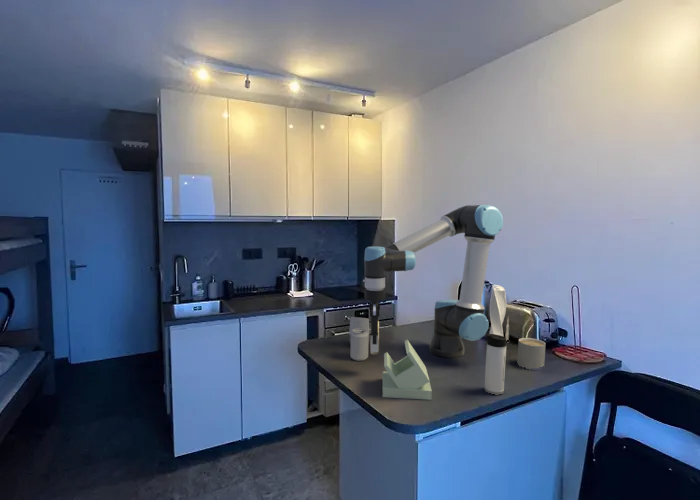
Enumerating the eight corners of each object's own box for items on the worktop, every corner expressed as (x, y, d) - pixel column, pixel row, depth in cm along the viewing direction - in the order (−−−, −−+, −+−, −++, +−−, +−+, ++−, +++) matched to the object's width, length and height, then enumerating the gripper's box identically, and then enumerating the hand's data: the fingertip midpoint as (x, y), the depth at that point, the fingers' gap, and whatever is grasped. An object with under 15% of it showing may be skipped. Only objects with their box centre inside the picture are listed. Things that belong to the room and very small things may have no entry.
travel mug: (480, 387, 140) (483, 332, 138) (498, 387, 140) (501, 332, 138) (488, 395, 133) (491, 338, 131) (506, 395, 134) (510, 337, 132)
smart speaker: (371, 343, 185) (371, 313, 183) (367, 349, 176) (367, 318, 174) (351, 341, 187) (352, 312, 186) (346, 347, 178) (347, 317, 177)
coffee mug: (535, 372, 154) (536, 347, 153) (512, 364, 162) (513, 340, 161) (553, 365, 161) (555, 341, 160) (530, 358, 170) (532, 335, 169)
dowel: (379, 351, 150) (379, 320, 149) (378, 354, 147) (378, 322, 145) (370, 351, 150) (370, 320, 149) (370, 354, 147) (370, 322, 146)
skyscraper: (497, 345, 186) (500, 286, 184) (483, 340, 193) (486, 283, 191) (509, 342, 190) (512, 285, 188) (495, 337, 198) (499, 282, 195)
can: (366, 362, 161) (367, 333, 160) (348, 360, 162) (349, 332, 161) (369, 355, 168) (370, 328, 167) (352, 354, 170) (352, 326, 169)
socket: (426, 381, 143) (428, 339, 142) (431, 399, 130) (433, 353, 128) (382, 379, 145) (383, 337, 143) (382, 397, 131) (383, 351, 129)
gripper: (365, 284, 154) (365, 342, 157) (363, 293, 138) (363, 357, 141) (384, 284, 154) (384, 343, 156) (385, 293, 137) (384, 358, 140)
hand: (374, 349), depth 148 cm, fingers closed on dowel, 3 cm apart
